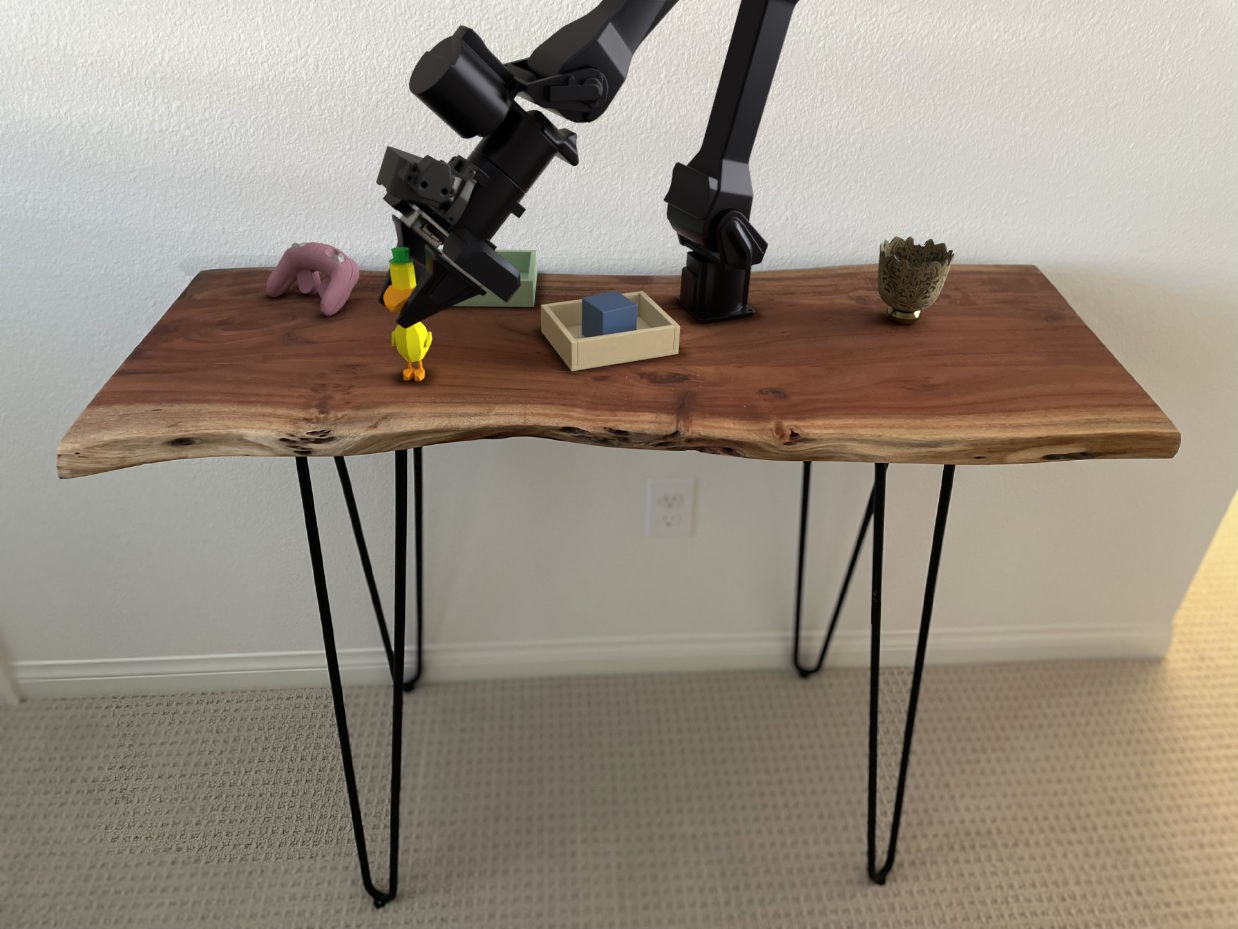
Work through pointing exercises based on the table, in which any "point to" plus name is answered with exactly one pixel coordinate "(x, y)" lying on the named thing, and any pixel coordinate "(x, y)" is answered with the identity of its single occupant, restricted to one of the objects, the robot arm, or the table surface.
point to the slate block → (608, 314)
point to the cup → (911, 276)
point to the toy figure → (411, 339)
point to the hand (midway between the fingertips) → (390, 314)
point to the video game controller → (315, 274)
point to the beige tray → (609, 335)
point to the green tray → (528, 277)
